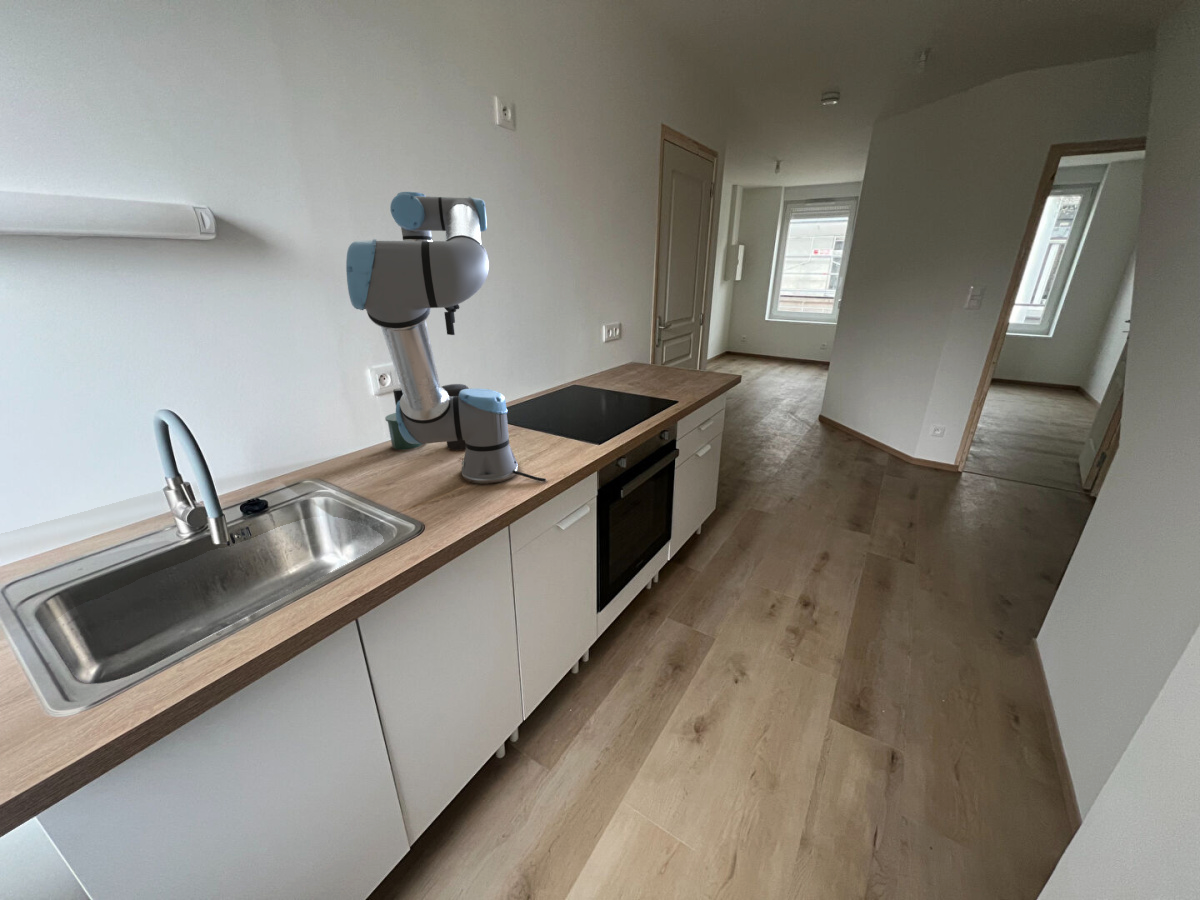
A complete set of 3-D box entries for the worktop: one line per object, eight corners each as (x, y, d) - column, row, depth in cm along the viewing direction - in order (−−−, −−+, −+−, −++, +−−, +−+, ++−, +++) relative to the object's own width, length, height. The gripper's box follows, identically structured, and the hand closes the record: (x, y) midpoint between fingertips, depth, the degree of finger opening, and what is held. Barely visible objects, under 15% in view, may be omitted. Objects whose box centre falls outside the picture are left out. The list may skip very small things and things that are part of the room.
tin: (428, 444, 147) (424, 416, 143) (402, 453, 140) (397, 424, 136) (413, 439, 152) (408, 412, 148) (386, 446, 145) (381, 418, 142)
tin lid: (427, 418, 144) (422, 388, 140) (397, 426, 136) (391, 395, 132) (409, 413, 149) (404, 384, 146) (379, 420, 142) (373, 390, 138)
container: (467, 452, 141) (459, 389, 133) (441, 450, 142) (432, 387, 135) (479, 442, 148) (473, 382, 141) (454, 440, 150) (446, 381, 143)
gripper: (450, 258, 134) (458, 331, 142) (368, 256, 116) (382, 340, 124) (466, 258, 130) (474, 333, 138) (383, 256, 112) (397, 343, 119)
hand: (431, 337), depth 131 cm, fingers open, 13 cm apart
